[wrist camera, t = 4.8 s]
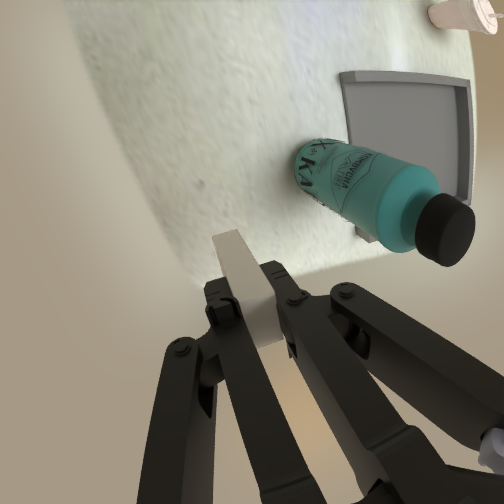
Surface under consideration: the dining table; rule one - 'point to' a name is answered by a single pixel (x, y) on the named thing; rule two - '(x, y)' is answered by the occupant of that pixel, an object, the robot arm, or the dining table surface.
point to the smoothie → (464, 15)
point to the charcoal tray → (414, 124)
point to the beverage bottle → (387, 199)
